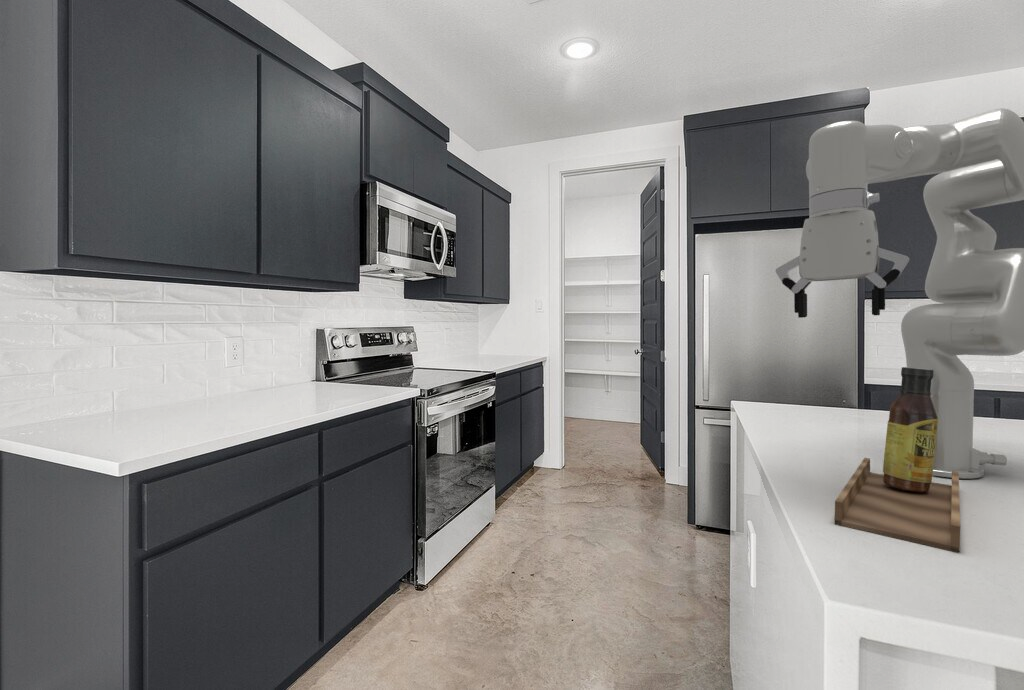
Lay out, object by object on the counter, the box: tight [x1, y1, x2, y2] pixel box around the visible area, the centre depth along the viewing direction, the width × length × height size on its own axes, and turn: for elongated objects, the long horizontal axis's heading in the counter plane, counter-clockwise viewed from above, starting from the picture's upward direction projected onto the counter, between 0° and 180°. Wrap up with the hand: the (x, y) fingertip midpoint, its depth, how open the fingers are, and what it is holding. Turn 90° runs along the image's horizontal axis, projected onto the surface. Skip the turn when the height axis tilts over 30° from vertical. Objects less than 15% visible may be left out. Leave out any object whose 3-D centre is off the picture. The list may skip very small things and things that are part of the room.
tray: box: [834, 457, 961, 553], centre depth 72 cm, size 30×13×3 cm, turn 137°
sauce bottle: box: [882, 366, 938, 492], centre depth 78 cm, size 7×6×20 cm
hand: (837, 316), depth 75 cm, fingers open, 9 cm apart
